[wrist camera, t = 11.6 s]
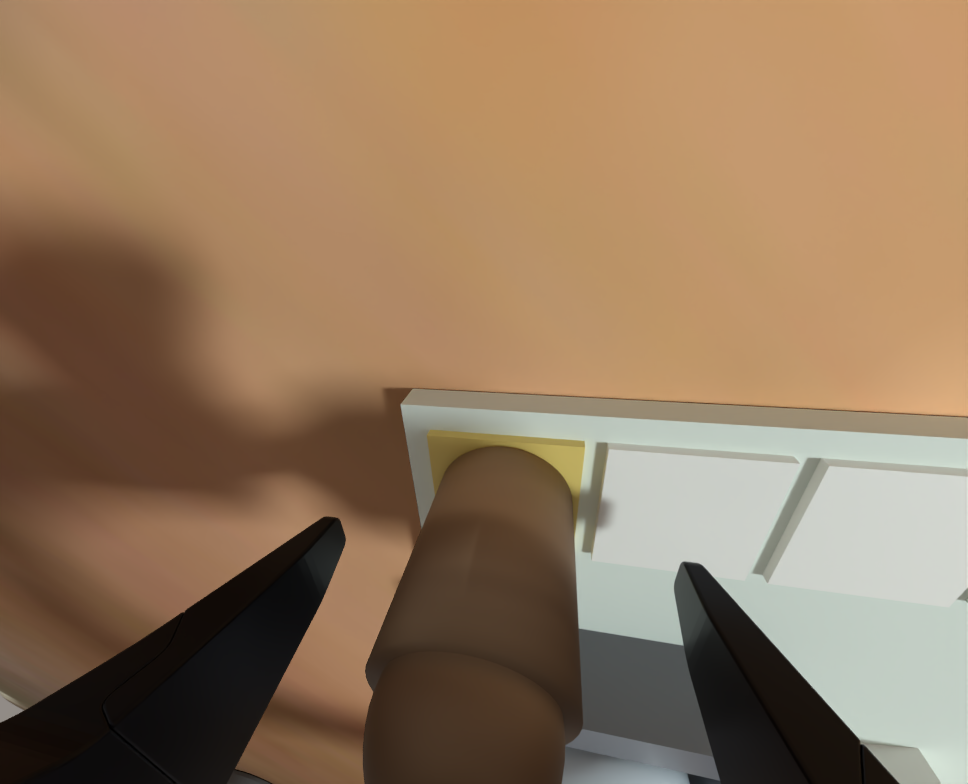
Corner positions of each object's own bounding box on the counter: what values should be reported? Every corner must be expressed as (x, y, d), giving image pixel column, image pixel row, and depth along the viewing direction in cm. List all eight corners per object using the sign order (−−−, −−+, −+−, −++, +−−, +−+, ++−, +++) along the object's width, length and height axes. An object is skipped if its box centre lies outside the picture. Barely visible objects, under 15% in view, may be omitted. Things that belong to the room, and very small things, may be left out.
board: (918, 795, 16) (944, 838, 15) (458, 698, 20) (452, 727, 19) (1441, 442, 7) (1605, 486, 6) (412, 388, 11) (396, 409, 10)
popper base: (693, 769, 17) (717, 870, 15) (489, 724, 19) (478, 807, 16) (760, 658, 12) (814, 778, 10) (481, 612, 14) (464, 703, 12)
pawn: (563, 553, 11) (569, 953, 5) (442, 533, 12) (328, 872, 6) (582, 456, 9) (625, 910, 3) (438, 438, 10) (259, 800, 4)
